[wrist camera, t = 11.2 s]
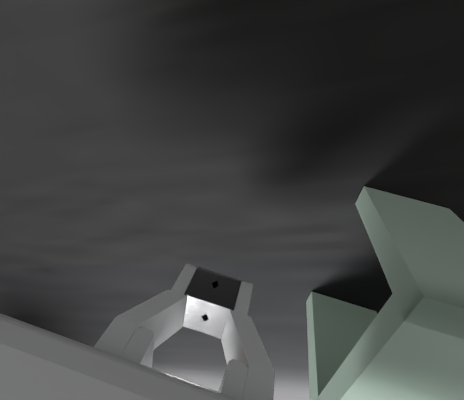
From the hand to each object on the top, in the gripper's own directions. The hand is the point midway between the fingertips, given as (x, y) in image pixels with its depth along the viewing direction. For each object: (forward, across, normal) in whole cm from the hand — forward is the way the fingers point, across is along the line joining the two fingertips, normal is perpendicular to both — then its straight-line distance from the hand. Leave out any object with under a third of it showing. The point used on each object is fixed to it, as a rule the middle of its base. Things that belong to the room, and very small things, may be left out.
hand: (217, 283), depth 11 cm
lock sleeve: (+5, -7, 0) cm, 9 cm away
